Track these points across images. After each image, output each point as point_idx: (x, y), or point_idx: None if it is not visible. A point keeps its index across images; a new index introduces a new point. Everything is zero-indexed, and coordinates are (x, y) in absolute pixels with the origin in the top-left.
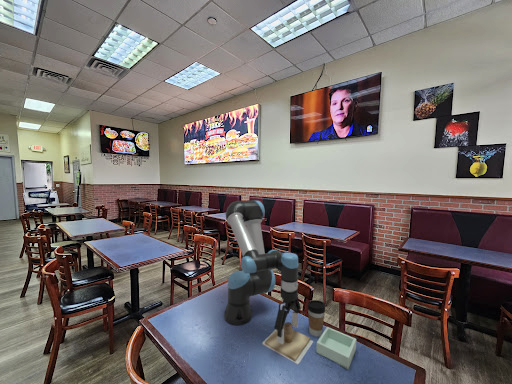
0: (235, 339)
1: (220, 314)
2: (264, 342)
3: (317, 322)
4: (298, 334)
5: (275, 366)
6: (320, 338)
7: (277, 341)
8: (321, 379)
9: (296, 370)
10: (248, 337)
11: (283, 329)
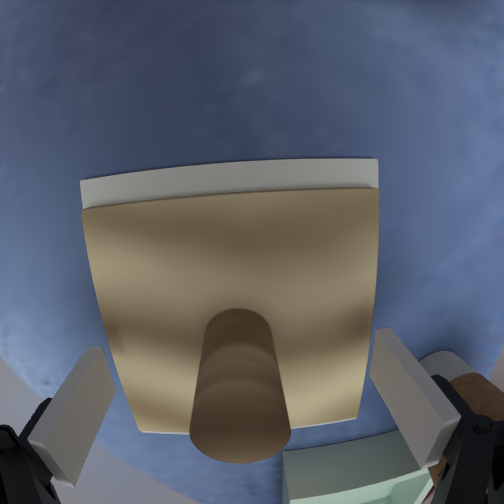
0: (26, 26)
1: None
2: (101, 189)
3: (432, 479)
4: (347, 360)
5: (49, 349)
6: (336, 494)
7: (87, 350)
8: (170, 488)
9: (118, 428)
10: (81, 55)
11: (67, 484)
